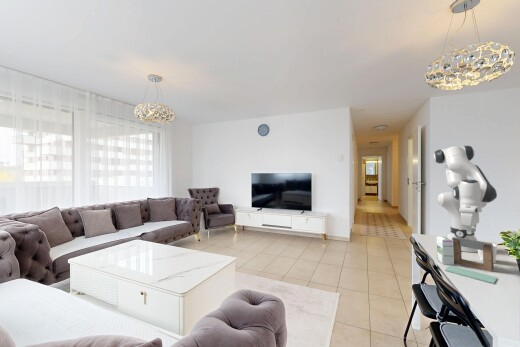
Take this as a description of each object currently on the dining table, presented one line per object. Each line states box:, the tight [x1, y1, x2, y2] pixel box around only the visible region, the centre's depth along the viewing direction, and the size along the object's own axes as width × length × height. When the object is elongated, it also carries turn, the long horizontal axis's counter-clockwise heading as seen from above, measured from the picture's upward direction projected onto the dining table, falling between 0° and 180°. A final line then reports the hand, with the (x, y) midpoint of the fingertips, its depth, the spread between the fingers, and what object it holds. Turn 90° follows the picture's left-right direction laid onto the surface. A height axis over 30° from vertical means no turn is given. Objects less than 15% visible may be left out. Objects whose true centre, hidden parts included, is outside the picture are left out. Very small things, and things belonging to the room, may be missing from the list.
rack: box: [453, 240, 495, 273], centre depth 122 cm, size 7×16×13 cm, turn 36°
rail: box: [452, 237, 493, 252], centre depth 123 cm, size 3×16×4 cm, turn 36°
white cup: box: [477, 243, 498, 264], centre depth 128 cm, size 8×8×10 cm
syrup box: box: [436, 236, 455, 266], centre depth 126 cm, size 6×6×14 cm
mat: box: [444, 265, 498, 285], centre depth 112 cm, size 9×18×1 cm, turn 36°
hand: (471, 232), depth 122 cm, fingers open, 8 cm apart
